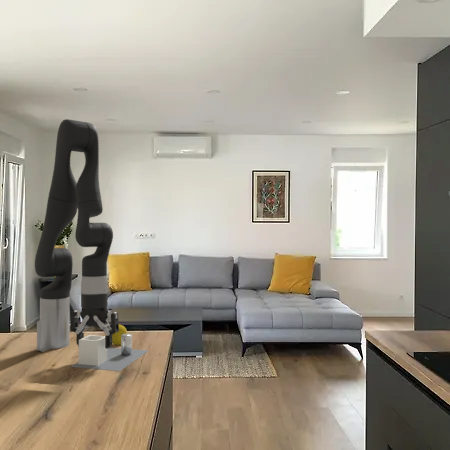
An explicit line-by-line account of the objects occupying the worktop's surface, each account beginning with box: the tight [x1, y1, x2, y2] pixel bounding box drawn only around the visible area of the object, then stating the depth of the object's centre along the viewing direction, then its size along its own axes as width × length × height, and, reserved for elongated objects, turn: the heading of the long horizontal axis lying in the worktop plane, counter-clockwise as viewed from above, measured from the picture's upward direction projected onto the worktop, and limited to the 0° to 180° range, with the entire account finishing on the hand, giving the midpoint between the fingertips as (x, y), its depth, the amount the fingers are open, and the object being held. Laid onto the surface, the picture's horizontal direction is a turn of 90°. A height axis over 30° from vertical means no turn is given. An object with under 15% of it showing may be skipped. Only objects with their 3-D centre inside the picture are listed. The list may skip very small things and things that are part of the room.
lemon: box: [112, 323, 128, 346], centre depth 167 cm, size 6×6×8 cm
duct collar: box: [78, 334, 107, 366], centre depth 146 cm, size 6×6×7 cm
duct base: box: [70, 347, 149, 372], centre depth 150 cm, size 15×22×2 cm
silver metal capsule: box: [120, 333, 133, 356], centre depth 154 cm, size 3×3×6 cm
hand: (94, 347), depth 145 cm, fingers open, 8 cm apart
